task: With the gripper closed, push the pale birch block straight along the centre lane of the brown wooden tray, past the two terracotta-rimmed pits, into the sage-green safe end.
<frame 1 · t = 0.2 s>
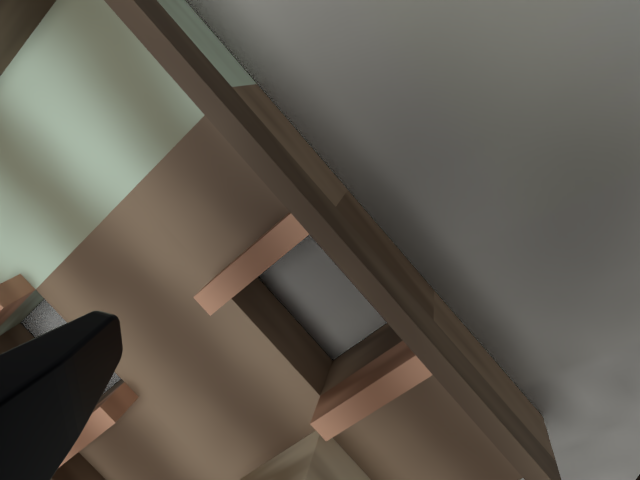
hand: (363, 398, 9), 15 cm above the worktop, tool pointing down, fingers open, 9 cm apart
brown wooden tray: (200, 312, 27), on the worktop
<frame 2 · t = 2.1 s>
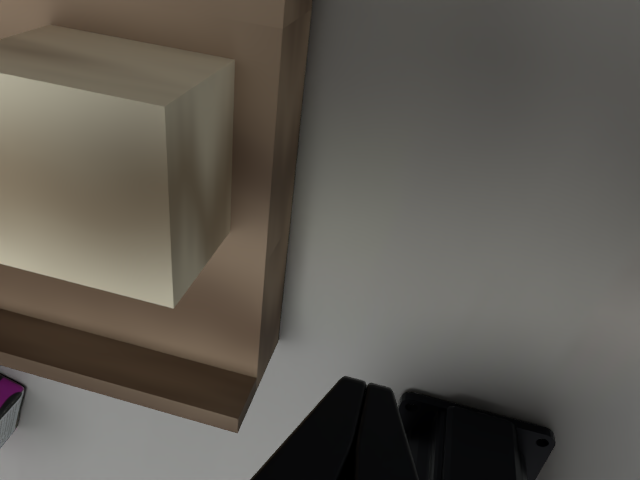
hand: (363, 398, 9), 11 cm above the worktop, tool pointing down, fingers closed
birch block: (146, 135, 16), point 3 cm above the worktop, touching brown wooden tray
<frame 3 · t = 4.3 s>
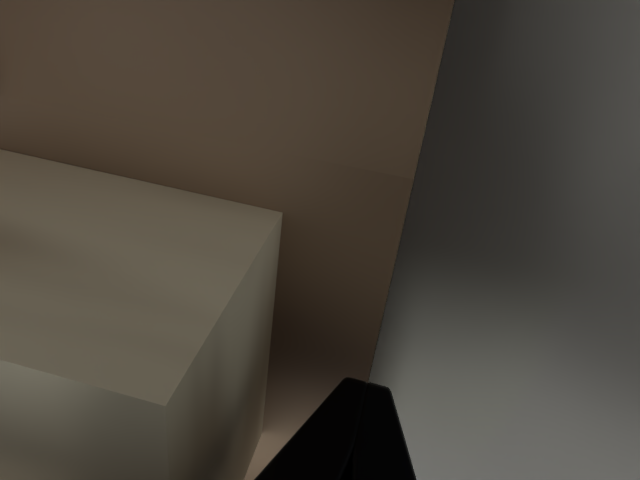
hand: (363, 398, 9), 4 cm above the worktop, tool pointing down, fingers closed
birch block: (134, 304, 10), point 3 cm above the worktop, touching gripper, brown wooden tray
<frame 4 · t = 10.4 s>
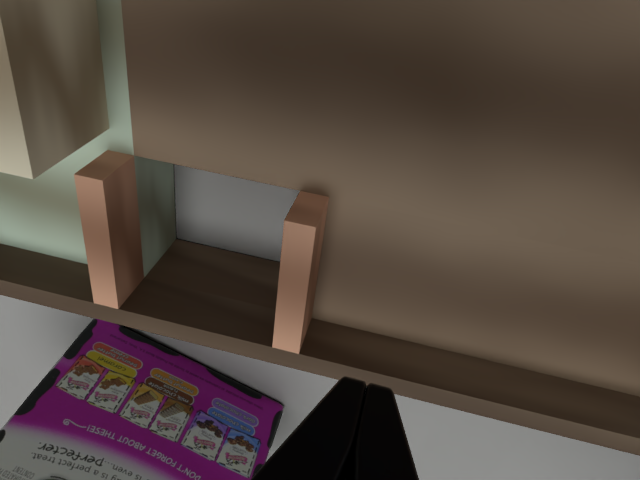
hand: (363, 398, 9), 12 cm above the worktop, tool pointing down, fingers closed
brown wooden tray: (332, 55, 18), on the worktop
candy bar box: (183, 381, 30), on the worktop
birch block: (21, 30, 17), point 3 cm above the worktop, touching brown wooden tray
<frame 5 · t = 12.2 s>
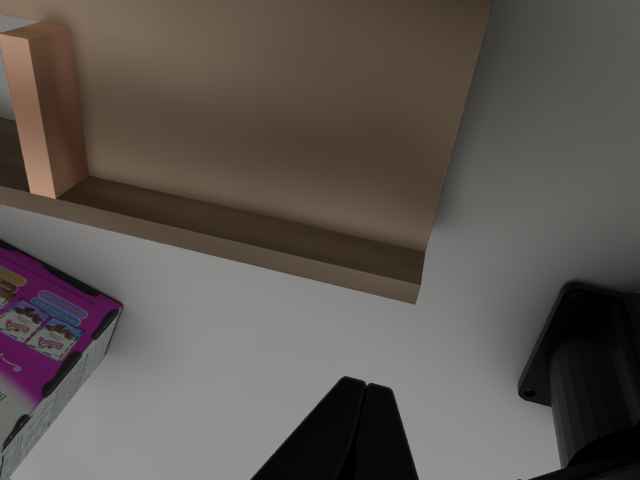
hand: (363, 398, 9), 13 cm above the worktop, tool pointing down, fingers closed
candy bar box: (29, 284, 30), on the worktop
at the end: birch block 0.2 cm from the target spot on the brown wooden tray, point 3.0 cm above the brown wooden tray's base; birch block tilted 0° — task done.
